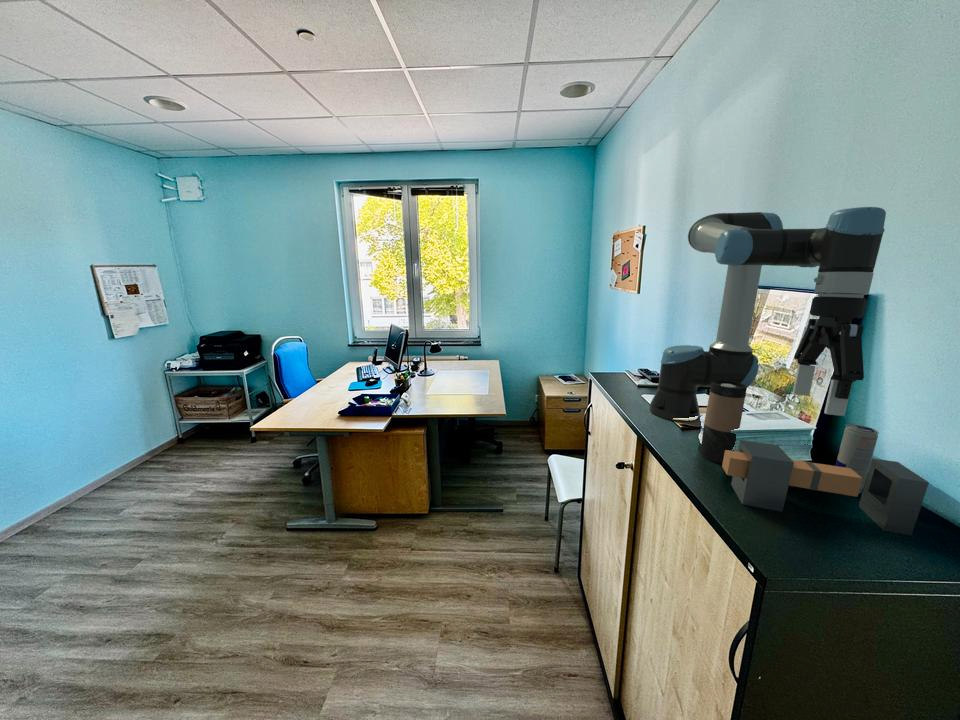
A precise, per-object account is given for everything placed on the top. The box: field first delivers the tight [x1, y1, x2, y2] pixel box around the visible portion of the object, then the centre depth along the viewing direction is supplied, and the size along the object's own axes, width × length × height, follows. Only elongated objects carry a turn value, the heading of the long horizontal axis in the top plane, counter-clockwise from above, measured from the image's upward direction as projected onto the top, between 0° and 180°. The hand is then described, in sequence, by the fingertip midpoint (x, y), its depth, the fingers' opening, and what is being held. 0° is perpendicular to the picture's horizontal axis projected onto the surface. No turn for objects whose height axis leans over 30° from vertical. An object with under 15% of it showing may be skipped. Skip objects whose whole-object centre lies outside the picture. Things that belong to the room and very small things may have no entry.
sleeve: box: [730, 439, 794, 513], centre depth 80 cm, size 8×7×11 cm
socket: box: [858, 457, 930, 537], centre depth 73 cm, size 8×4×11 cm, turn 161°
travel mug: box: [700, 380, 747, 464], centre depth 96 cm, size 8×8×20 cm
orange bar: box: [721, 450, 863, 497], centre depth 78 cm, size 4×22×4 cm, turn 71°
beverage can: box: [834, 423, 880, 494], centre depth 83 cm, size 5×5×15 cm
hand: (816, 404), depth 75 cm, fingers open, 13 cm apart
